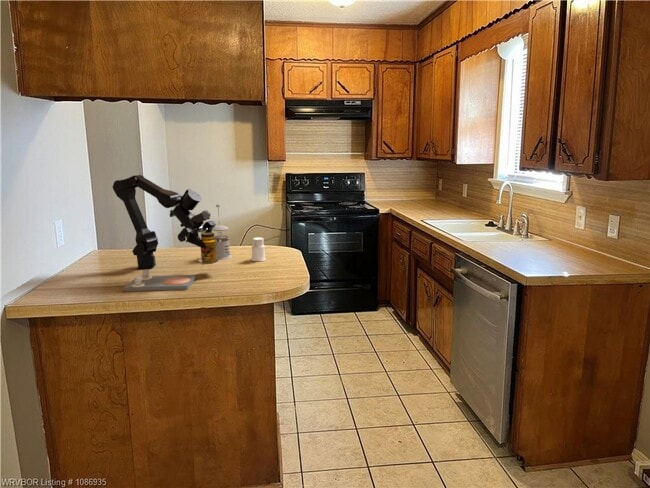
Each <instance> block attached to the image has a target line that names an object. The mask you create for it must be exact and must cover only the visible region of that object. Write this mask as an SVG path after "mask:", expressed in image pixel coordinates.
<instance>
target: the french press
mask: <svg viewBox="0 0 650 488" xmlns="http://www.w3.org/2000/svg"><path fill="white" fill-rule="evenodd" d="M215 207H216V208H217V211H218V212H217V213H218V216H220V210H219V208H221V205H220V204H219V203H218V204H216V206H215ZM228 230H229V227H228V226H227V225H223V224H220V222H218V224H216V225H215V226H214V228H213V229H212V232H217V235H214V237H215V238H214V239H215V240H216V254H217V260H218V261H222V260H224V261H225V260H229V259H232V258H233V255H231V251H230V250H231V249H230V248H231V247H230V239H228V238H229V236H228V235H223V233H222V232H224V231H225V232H226V231H228Z"/></svg>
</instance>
